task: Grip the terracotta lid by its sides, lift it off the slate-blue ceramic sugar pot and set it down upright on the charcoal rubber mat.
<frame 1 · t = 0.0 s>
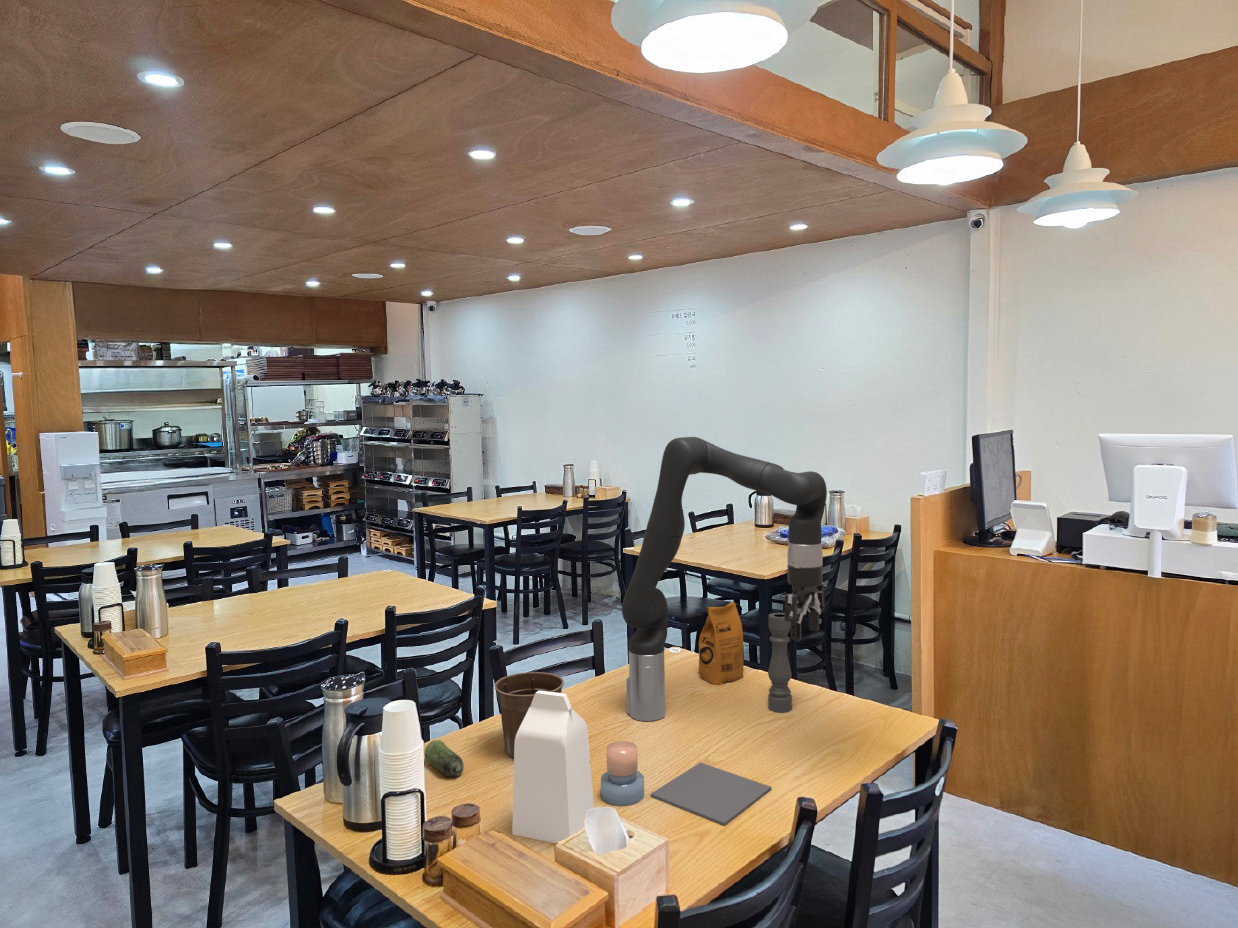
hand: (805, 635, 170), 29 cm above the table, fingers open, 8 cm apart
candle holder: (779, 708, 204), on the table
mat: (711, 792, 159), on the table
coffee package: (721, 678, 227), on the table
plant pot: (531, 749, 182), on the table
sugar pot: (622, 794, 159), on the table
lid: (622, 768, 159), point 5 cm above the table, touching sugar pot
milk: (554, 825, 148), on the table
vegetable: (444, 770, 173), on the table
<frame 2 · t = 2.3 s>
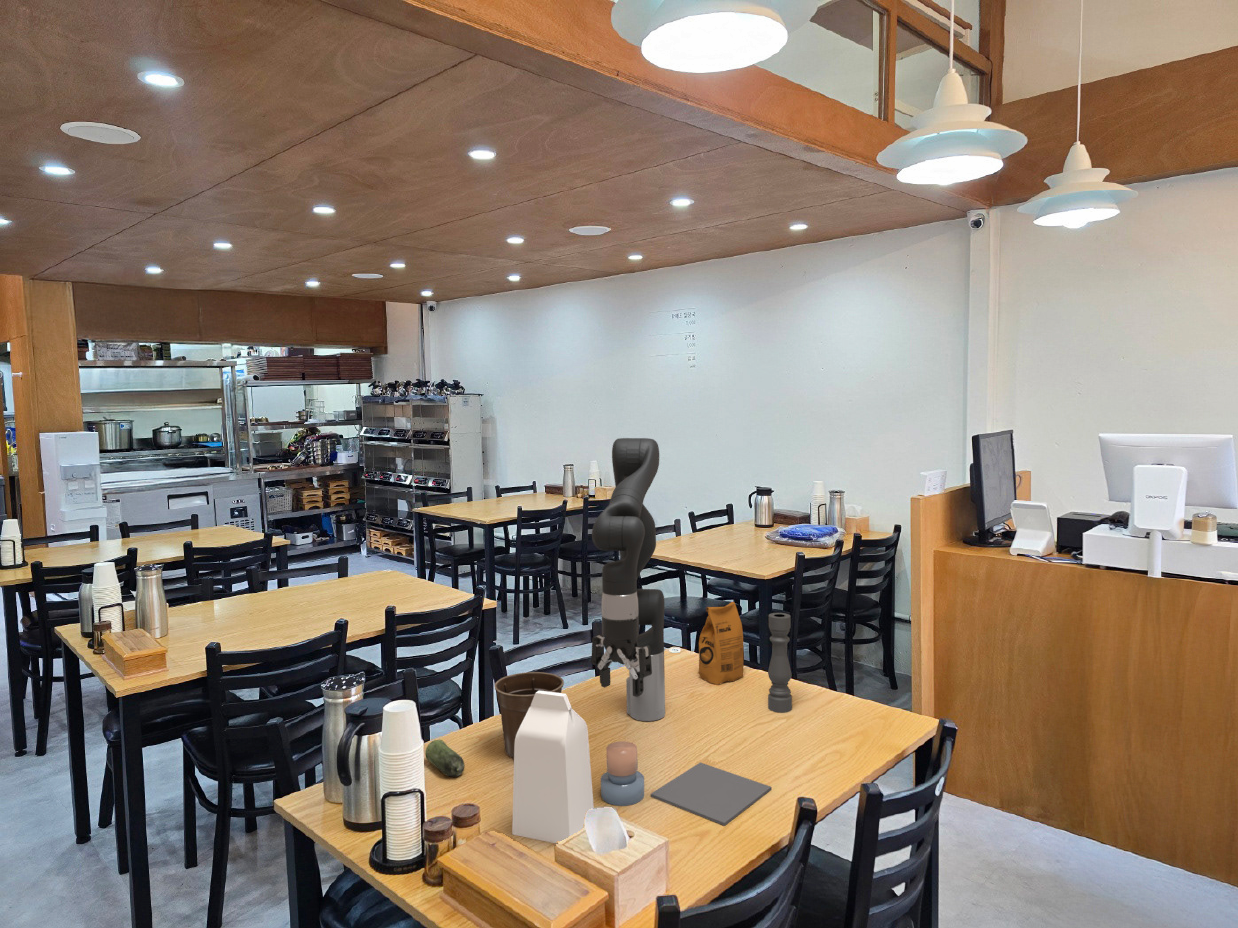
hand: (621, 690, 158), 22 cm above the table, fingers open, 8 cm apart
nothing on the table moved.
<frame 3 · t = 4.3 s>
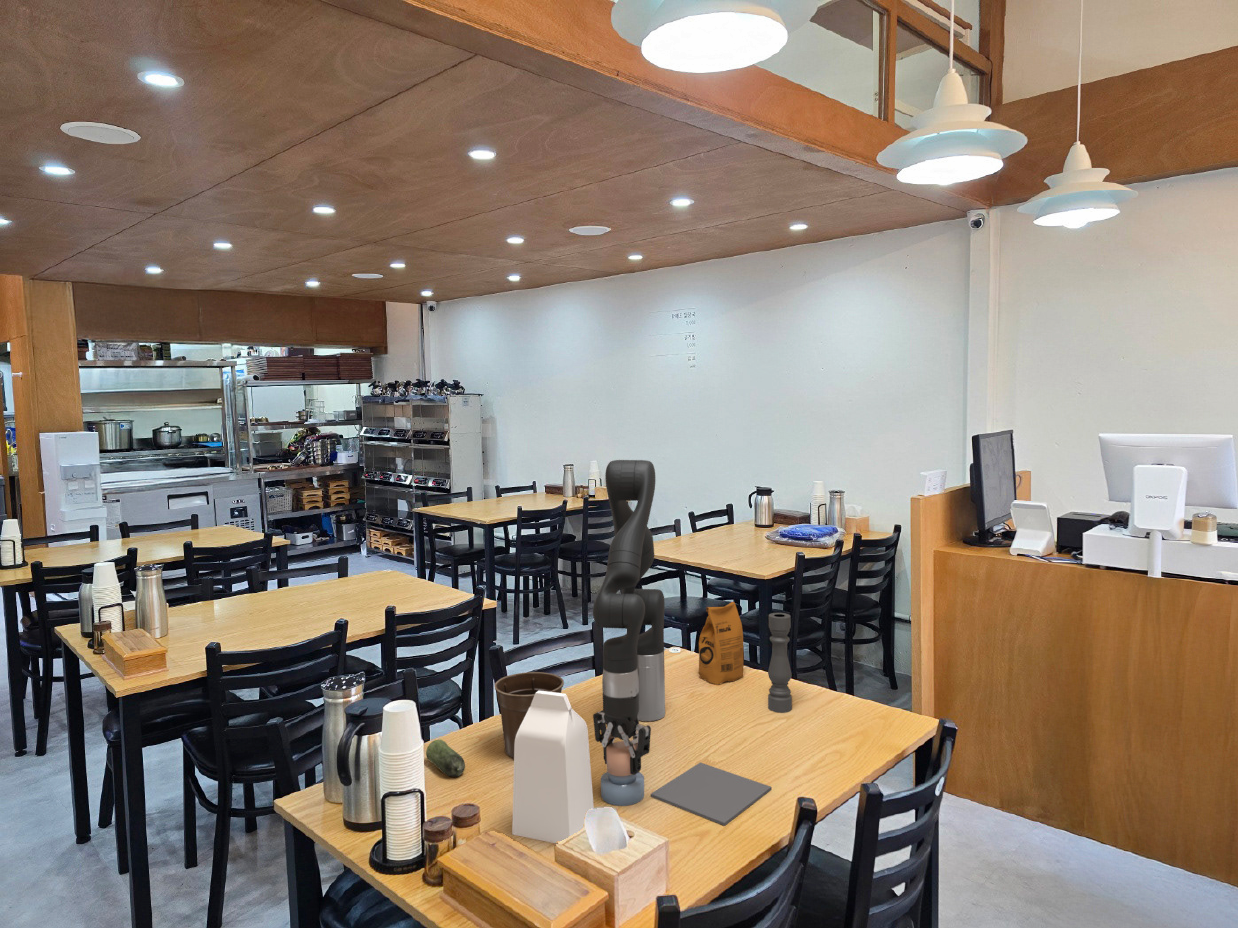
hand: (622, 767, 159), 6 cm above the table, fingers closed on lid, 6 cm apart
lid: (622, 768, 159), point 5 cm above the table, touching gripper, sugar pot
everything else where it was.
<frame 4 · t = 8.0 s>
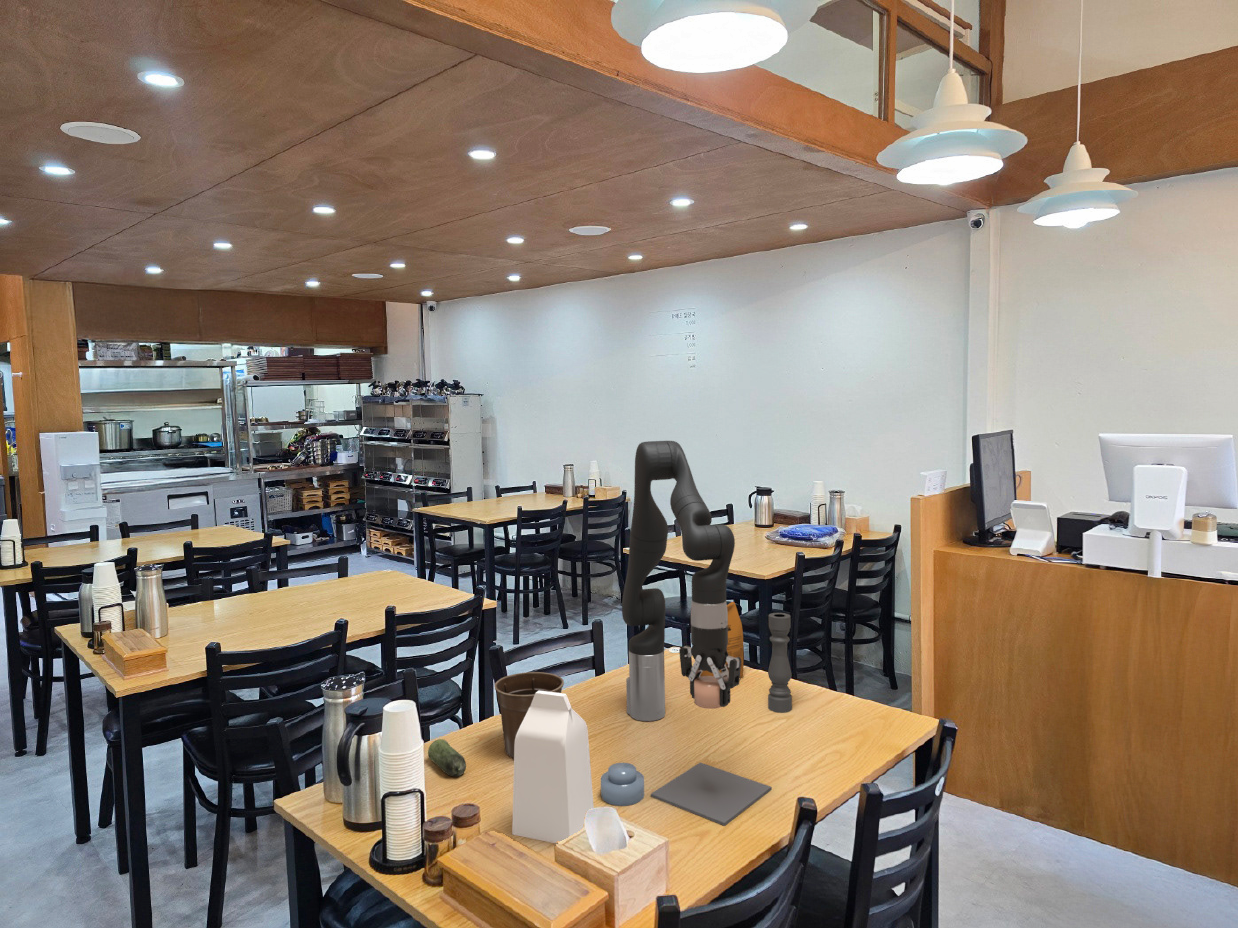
hand: (710, 701, 158), 19 cm above the table, fingers closed on lid, 6 cm apart
lid: (709, 702, 158), point 19 cm above the table, touching gripper
everything else where it was.
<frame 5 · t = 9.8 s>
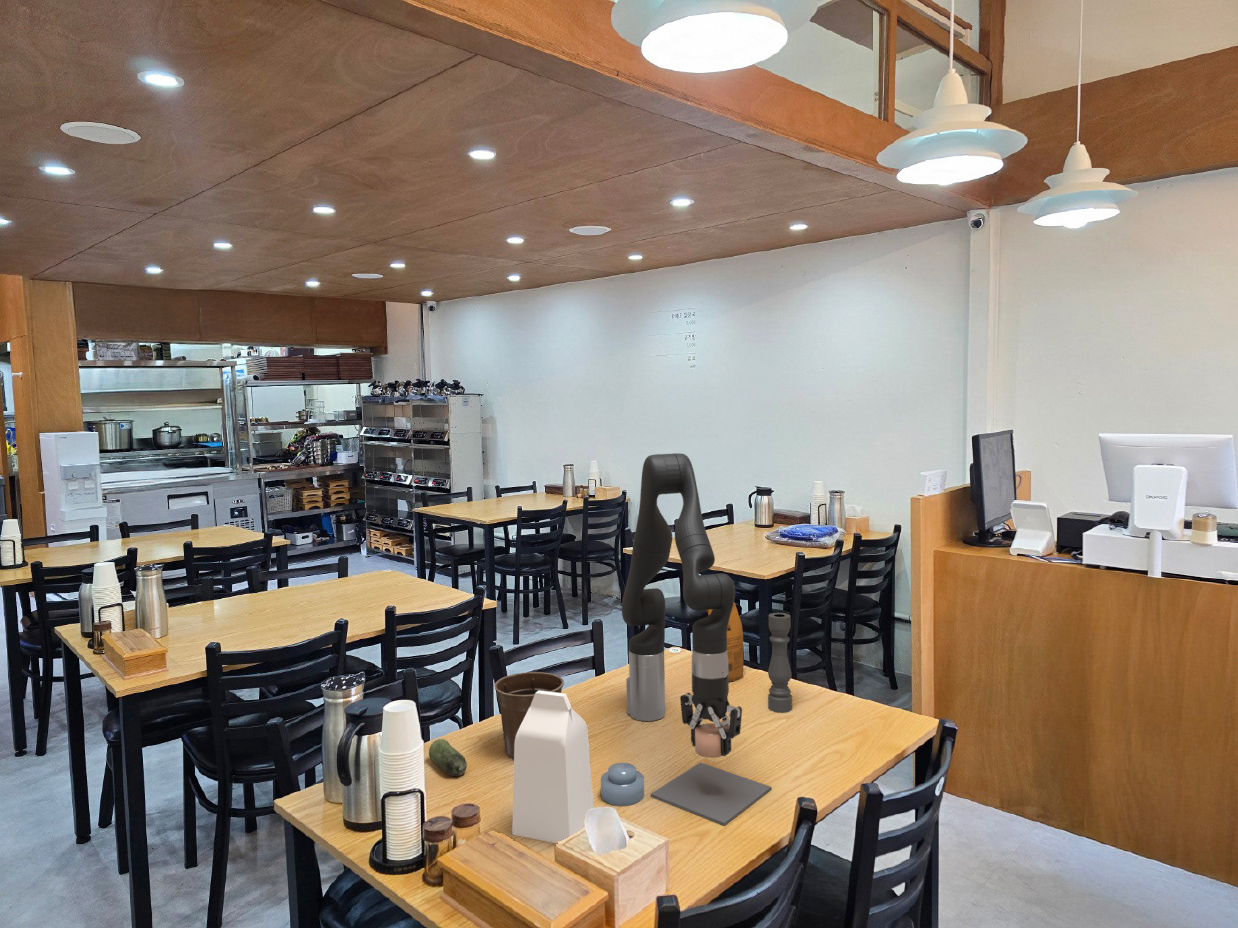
hand: (711, 749, 159), 9 cm above the table, fingers closed on lid, 6 cm apart
lid: (710, 750, 159), point 9 cm above the table, touching gripper
everything else where it was.
when the fingers open (3 cm above the table, at t = 11.7 s): lid drops 2 cm, resting on mat.
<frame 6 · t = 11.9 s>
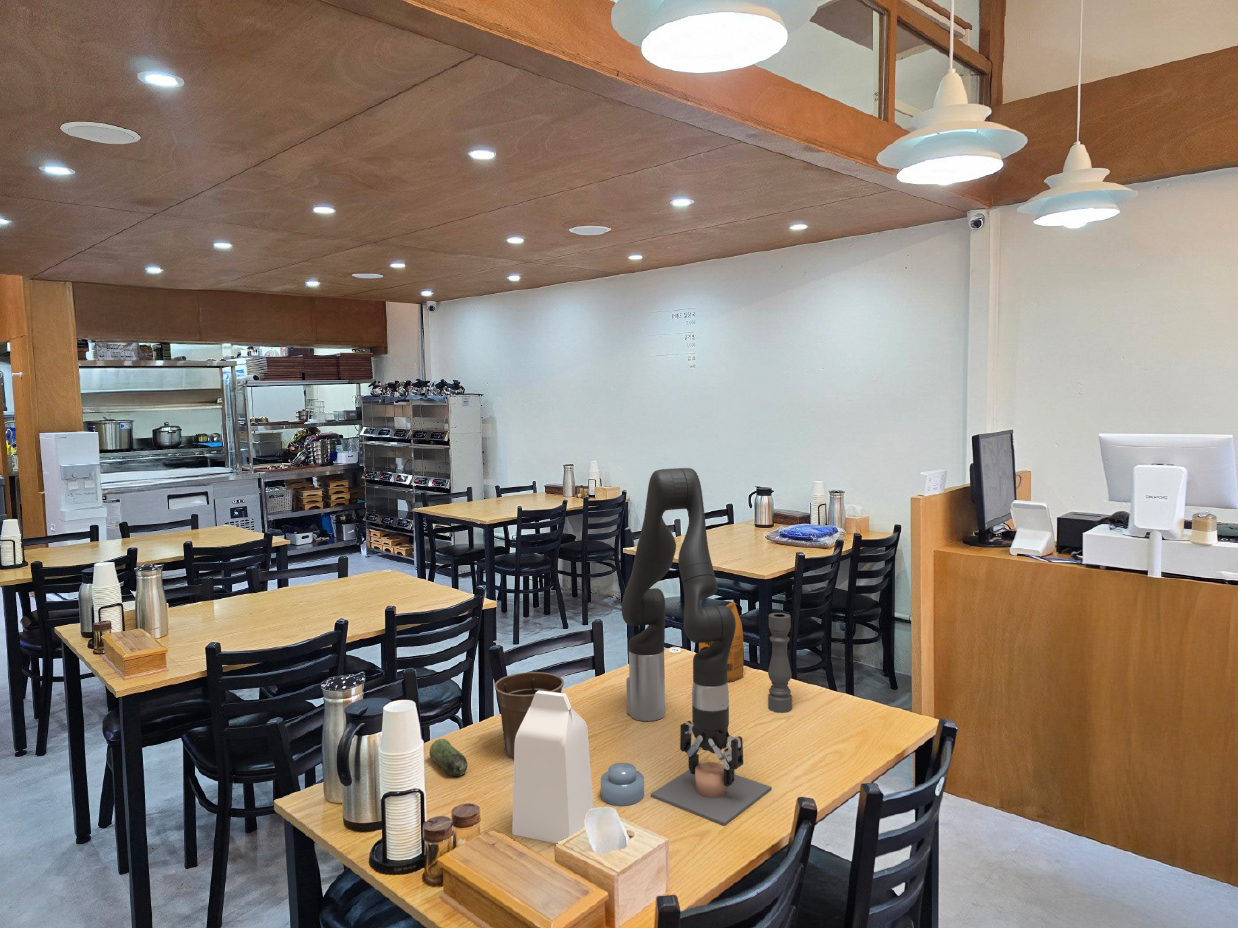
hand: (711, 778, 159), 3 cm above the table, fingers open, 8 cm apart
lid: (711, 790, 159), point 1 cm above the table, touching mat
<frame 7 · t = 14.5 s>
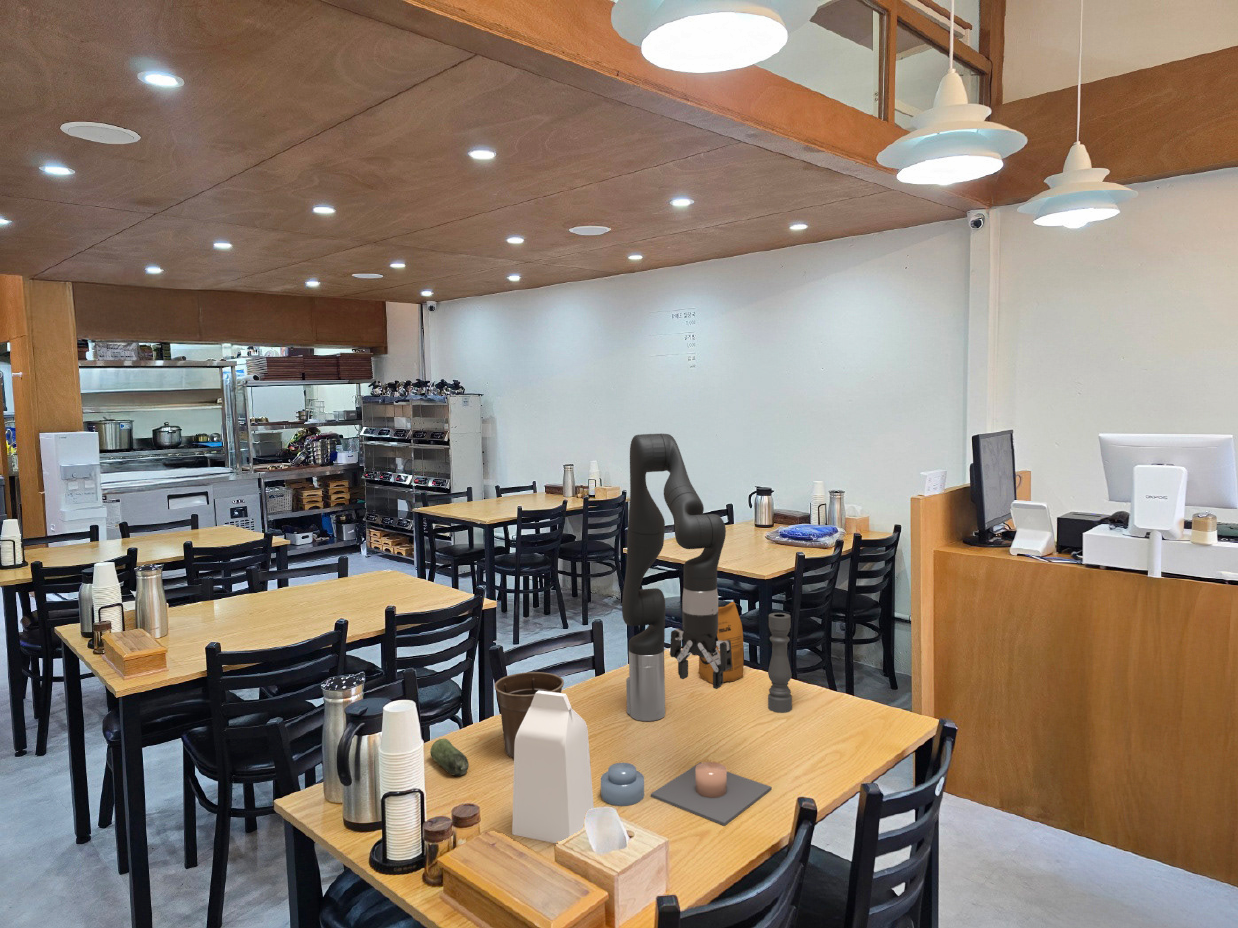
hand: (700, 682, 163), 21 cm above the table, fingers open, 8 cm apart
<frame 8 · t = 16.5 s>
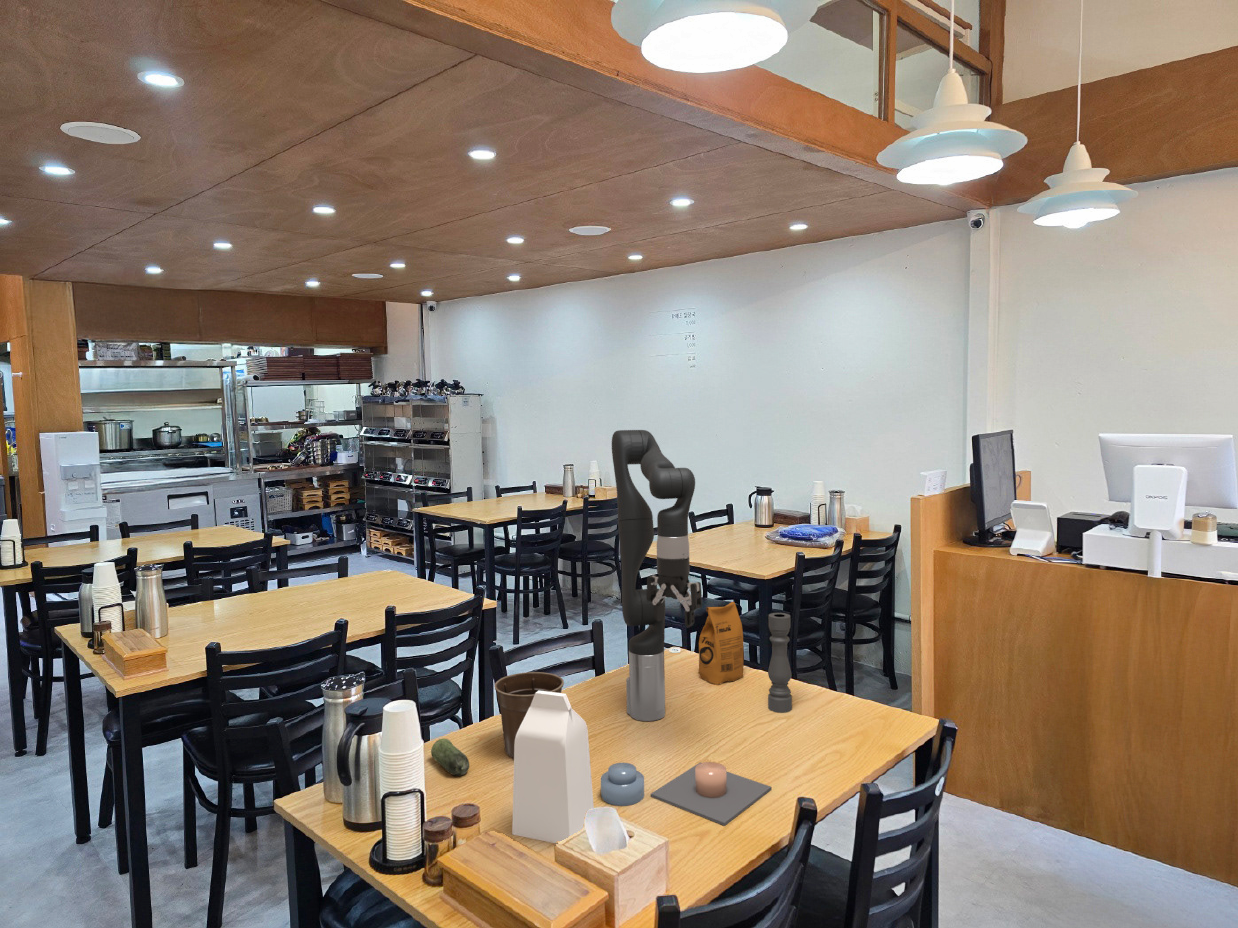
hand: (674, 623, 178), 30 cm above the table, fingers open, 8 cm apart
at the end: lid inside the target area on the mat (0.1 cm from its centre), point 0.6 cm above the mat's base; lid tilted 1°; lid touching mat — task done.
